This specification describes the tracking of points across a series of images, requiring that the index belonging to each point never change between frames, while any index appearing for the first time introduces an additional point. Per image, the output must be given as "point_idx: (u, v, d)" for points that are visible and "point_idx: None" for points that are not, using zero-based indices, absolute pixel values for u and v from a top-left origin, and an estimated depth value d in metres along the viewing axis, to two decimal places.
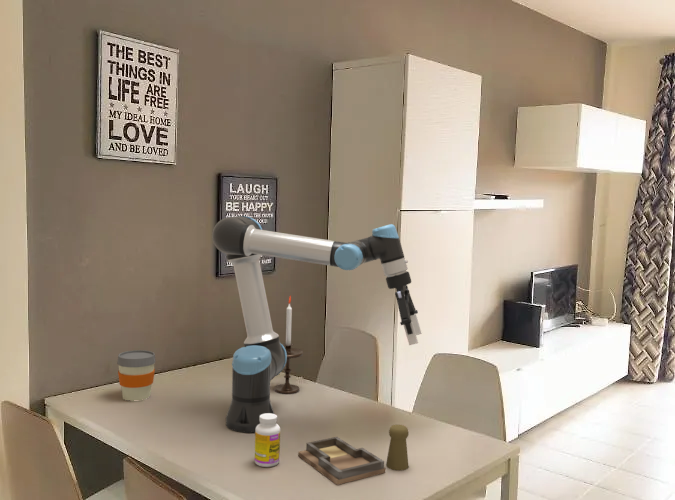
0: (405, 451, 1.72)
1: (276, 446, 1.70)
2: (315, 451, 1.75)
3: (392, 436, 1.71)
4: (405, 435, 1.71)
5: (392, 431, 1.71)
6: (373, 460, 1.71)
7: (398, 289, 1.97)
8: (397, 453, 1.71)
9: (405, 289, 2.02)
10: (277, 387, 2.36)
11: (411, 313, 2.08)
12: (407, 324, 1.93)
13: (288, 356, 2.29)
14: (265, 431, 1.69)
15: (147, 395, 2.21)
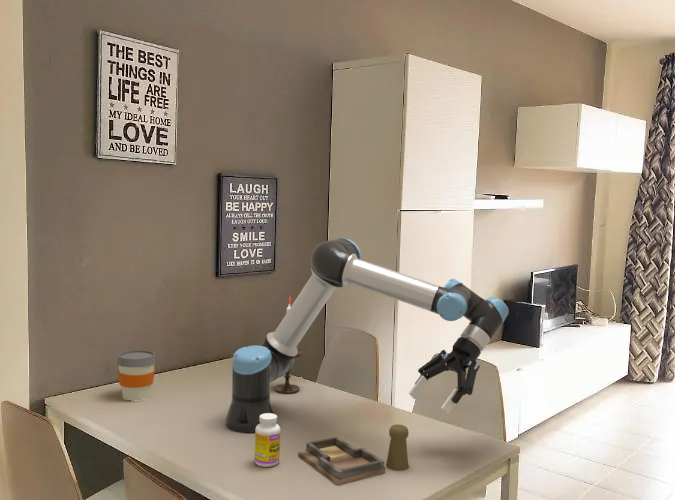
0: (405, 451, 1.72)
1: (276, 446, 1.70)
2: (315, 451, 1.75)
3: (392, 436, 1.71)
4: (405, 435, 1.71)
5: (392, 431, 1.71)
6: (373, 460, 1.71)
7: (470, 358, 1.79)
8: (397, 453, 1.71)
9: None
10: (277, 387, 2.36)
11: (425, 376, 1.86)
12: (462, 393, 1.72)
13: None
14: (265, 431, 1.69)
15: (147, 395, 2.21)
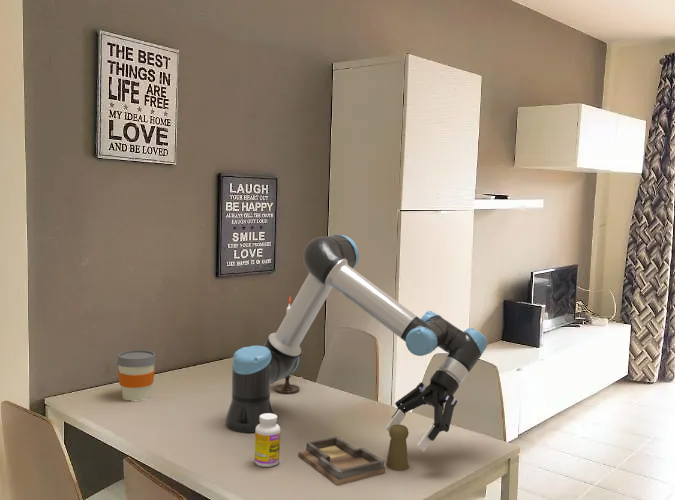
0: (405, 451, 1.72)
1: (276, 446, 1.70)
2: (315, 451, 1.75)
3: (392, 436, 1.71)
4: (405, 435, 1.71)
5: (392, 431, 1.71)
6: (373, 460, 1.71)
7: (448, 393, 1.75)
8: (397, 453, 1.71)
9: None
10: (277, 387, 2.36)
11: (402, 410, 1.81)
12: (438, 430, 1.68)
13: None
14: (265, 431, 1.69)
15: (147, 395, 2.21)
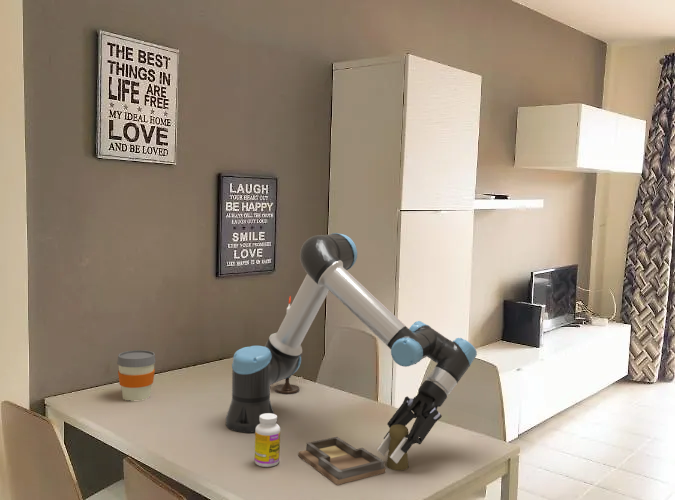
0: None
1: (276, 446, 1.70)
2: (315, 451, 1.75)
3: (392, 436, 1.71)
4: (405, 435, 1.71)
5: (392, 431, 1.71)
6: (373, 460, 1.71)
7: (436, 403, 1.74)
8: None
9: None
10: (277, 387, 2.36)
11: None
12: (411, 442, 1.70)
13: None
14: (265, 431, 1.69)
15: (147, 395, 2.21)
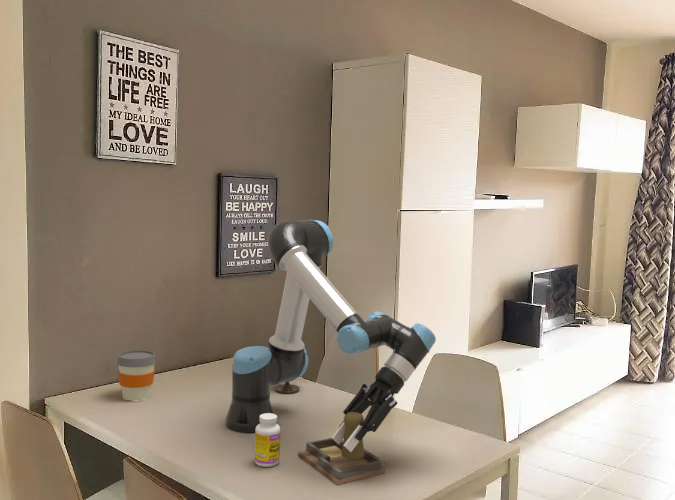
0: None
1: (276, 446, 1.70)
2: (315, 451, 1.75)
3: (346, 424, 1.66)
4: None
5: (346, 419, 1.66)
6: (373, 460, 1.71)
7: (392, 390, 1.69)
8: None
9: None
10: (277, 387, 2.36)
11: None
12: (366, 430, 1.65)
13: None
14: (265, 431, 1.69)
15: (147, 395, 2.21)
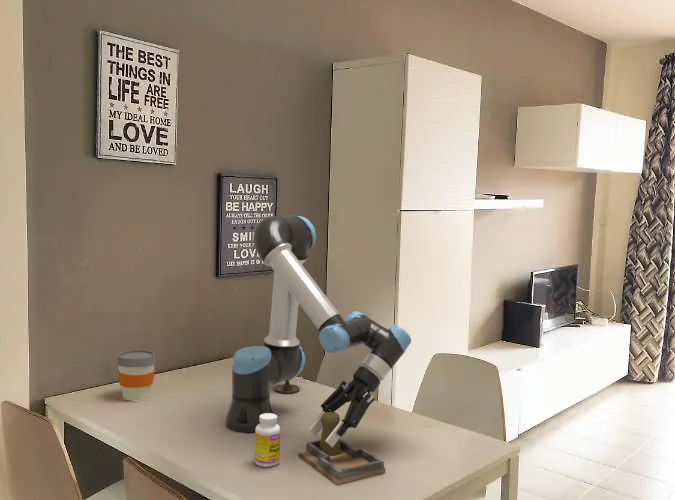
0: None
1: (276, 446, 1.70)
2: (315, 451, 1.75)
3: (323, 423, 1.76)
4: (336, 422, 1.75)
5: (323, 418, 1.76)
6: (373, 460, 1.71)
7: (368, 388, 1.78)
8: None
9: None
10: (277, 387, 2.36)
11: None
12: (347, 426, 1.73)
13: None
14: (265, 431, 1.69)
15: (147, 395, 2.21)
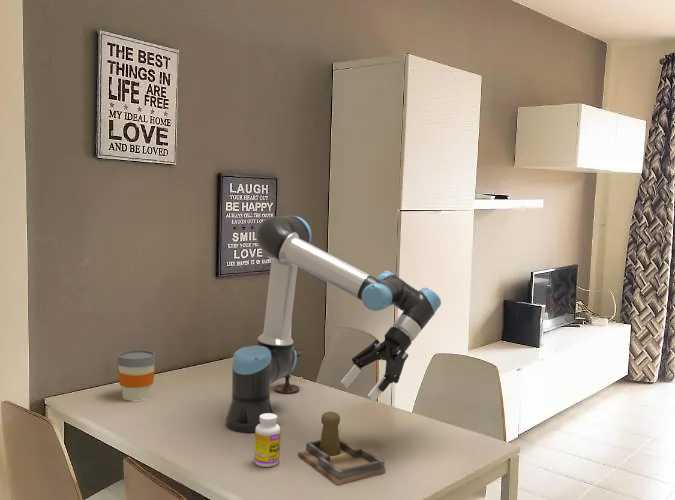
0: (336, 437, 1.76)
1: (276, 446, 1.70)
2: (315, 451, 1.75)
3: (323, 423, 1.76)
4: (336, 422, 1.75)
5: (323, 418, 1.76)
6: (373, 460, 1.71)
7: (400, 348, 1.82)
8: (328, 439, 1.75)
9: None
10: (277, 387, 2.36)
11: (358, 365, 1.89)
12: (389, 381, 1.76)
13: None
14: (265, 431, 1.69)
15: (147, 395, 2.21)
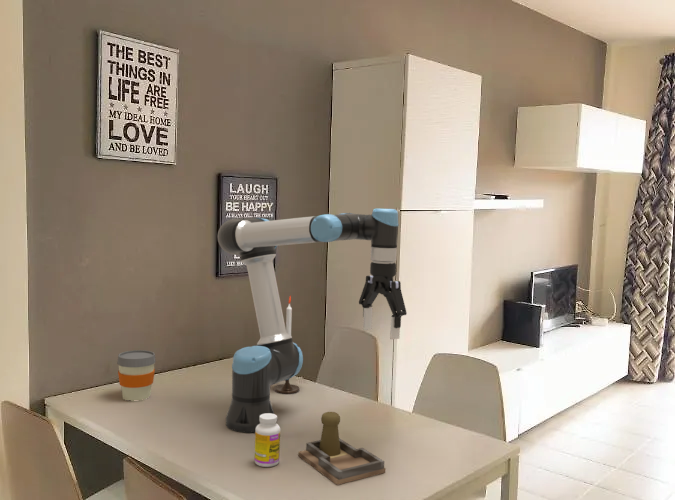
0: (336, 437, 1.76)
1: (276, 446, 1.70)
2: (315, 451, 1.75)
3: (323, 423, 1.76)
4: (336, 422, 1.75)
5: (323, 418, 1.76)
6: (373, 460, 1.71)
7: (389, 278, 1.84)
8: (328, 439, 1.75)
9: None
10: (277, 387, 2.36)
11: (367, 305, 1.95)
12: (399, 317, 1.82)
13: None
14: (265, 431, 1.69)
15: (147, 395, 2.21)
